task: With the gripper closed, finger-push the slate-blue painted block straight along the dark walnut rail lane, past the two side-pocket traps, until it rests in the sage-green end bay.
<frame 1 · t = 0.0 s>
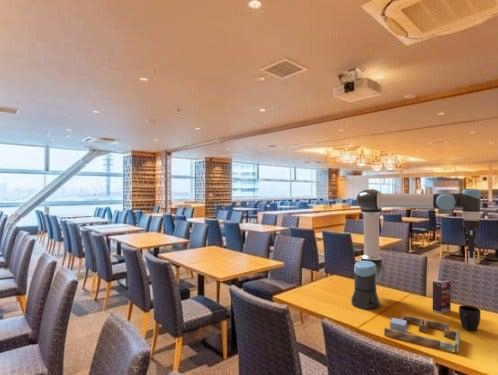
hand: (471, 261, 163), 28 cm above the table, fingers open, 13 cm apart
mug: (468, 330, 148), on the table
block: (398, 332, 146), on the table
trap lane: (420, 337, 141), on the table
supplement box: (441, 311, 170), on the table
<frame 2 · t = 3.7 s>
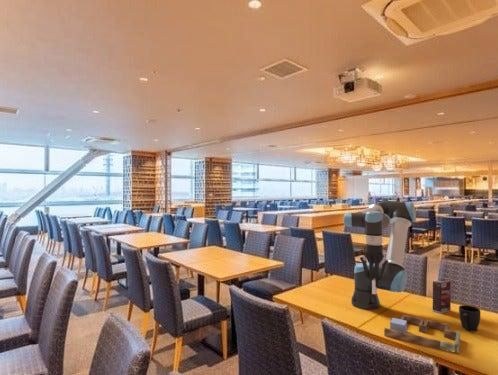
hand: (374, 293, 152), 16 cm above the table, fingers closed
nothing on the table moved.
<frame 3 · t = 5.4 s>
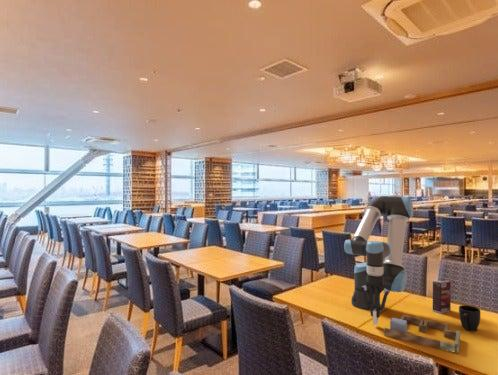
hand: (375, 323, 152), 1 cm above the table, fingers closed
nothing on the table moved.
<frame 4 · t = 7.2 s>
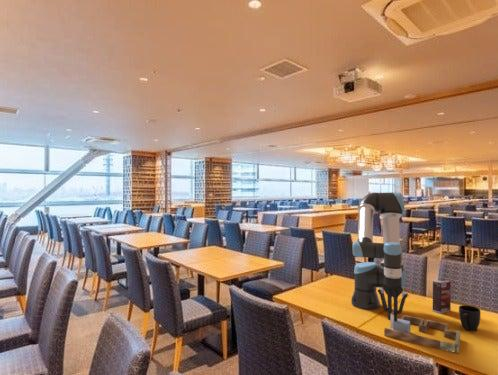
hand: (392, 327, 147), 2 cm above the table, fingers closed
block: (401, 332, 146), on the table, touching gripper
everything else where it was.
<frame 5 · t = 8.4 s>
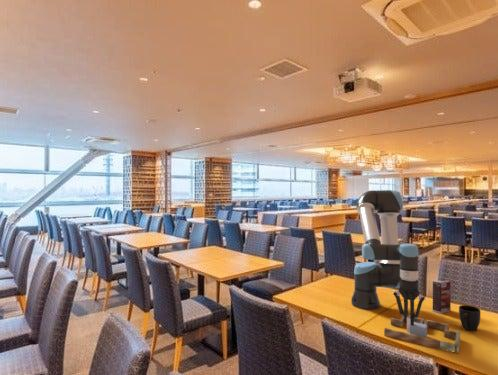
hand: (409, 331, 144), 2 cm above the table, fingers closed
block: (418, 336, 142), on the table, touching gripper
everything else where it was.
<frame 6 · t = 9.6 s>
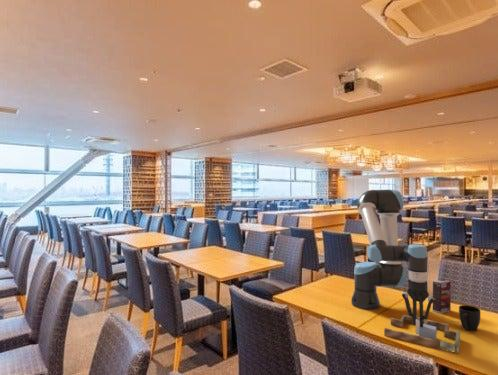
hand: (418, 333, 142), 2 cm above the table, fingers closed
block: (427, 338, 140), on the table, touching gripper
everything else where it was.
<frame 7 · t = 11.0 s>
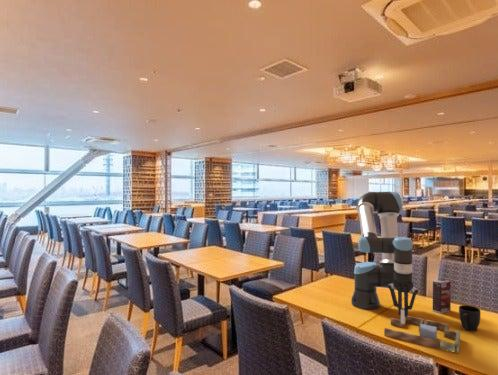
hand: (403, 322, 146), 4 cm above the table, fingers closed
block: (428, 339, 140), on the table
everything else where it was.
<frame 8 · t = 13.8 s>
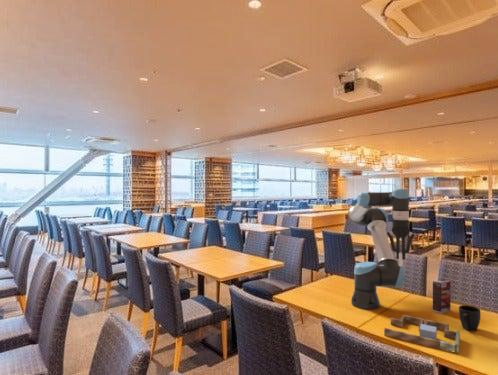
hand: (401, 265, 162), 26 cm above the table, fingers closed
nothing on the table moved.
at the end: block inside the target area (3.1 cm from its centre), on the table; block tilted 0°; block moved 11.9 cm from its start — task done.
